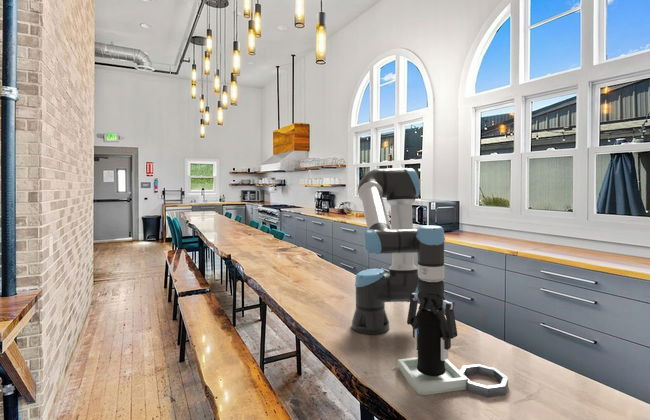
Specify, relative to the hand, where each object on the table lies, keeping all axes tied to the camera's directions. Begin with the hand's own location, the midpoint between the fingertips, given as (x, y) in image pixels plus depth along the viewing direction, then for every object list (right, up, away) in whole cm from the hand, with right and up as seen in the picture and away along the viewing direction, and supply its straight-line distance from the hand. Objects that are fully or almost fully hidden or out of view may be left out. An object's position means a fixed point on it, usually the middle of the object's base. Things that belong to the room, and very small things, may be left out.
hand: (431, 353), depth 107 cm
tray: (0, -8, +1) cm, 8 cm away
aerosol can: (0, -5, 0) cm, 5 cm away
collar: (+14, -7, -3) cm, 16 cm away
